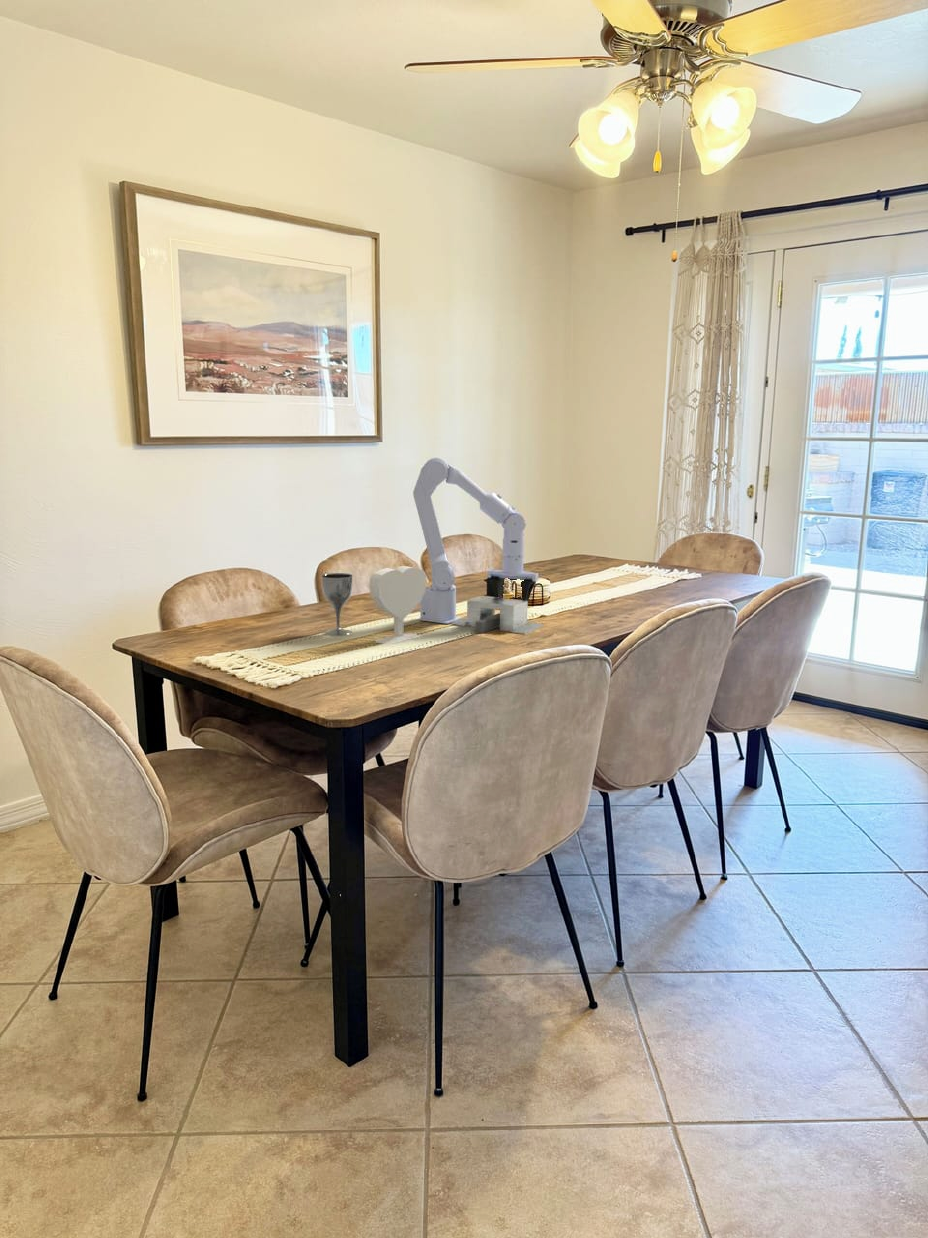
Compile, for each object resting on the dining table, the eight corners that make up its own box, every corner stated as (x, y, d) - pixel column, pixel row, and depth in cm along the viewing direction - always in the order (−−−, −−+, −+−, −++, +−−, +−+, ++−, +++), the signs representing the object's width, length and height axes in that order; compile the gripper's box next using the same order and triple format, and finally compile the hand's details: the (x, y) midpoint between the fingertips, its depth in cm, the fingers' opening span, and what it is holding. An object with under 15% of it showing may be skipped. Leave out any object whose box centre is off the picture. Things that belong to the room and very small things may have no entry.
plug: (472, 632, 228) (472, 617, 227) (508, 618, 245) (508, 604, 244) (485, 634, 226) (485, 619, 225) (521, 620, 243) (521, 606, 242)
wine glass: (359, 631, 228) (358, 574, 225) (343, 637, 221) (341, 578, 218) (333, 628, 232) (332, 572, 228) (316, 634, 225) (315, 576, 221)
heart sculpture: (415, 632, 228) (415, 563, 224) (428, 635, 224) (428, 566, 220) (368, 641, 217) (367, 569, 213) (380, 645, 213) (379, 572, 210)
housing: (452, 624, 237) (452, 599, 235) (471, 618, 245) (471, 593, 244) (525, 634, 226) (525, 608, 224) (542, 627, 234) (542, 601, 233)
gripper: (482, 555, 239) (482, 604, 241) (531, 559, 232) (530, 609, 235) (493, 552, 245) (493, 600, 248) (541, 556, 238) (540, 605, 241)
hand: (512, 604), depth 242 cm, fingers open, 7 cm apart
